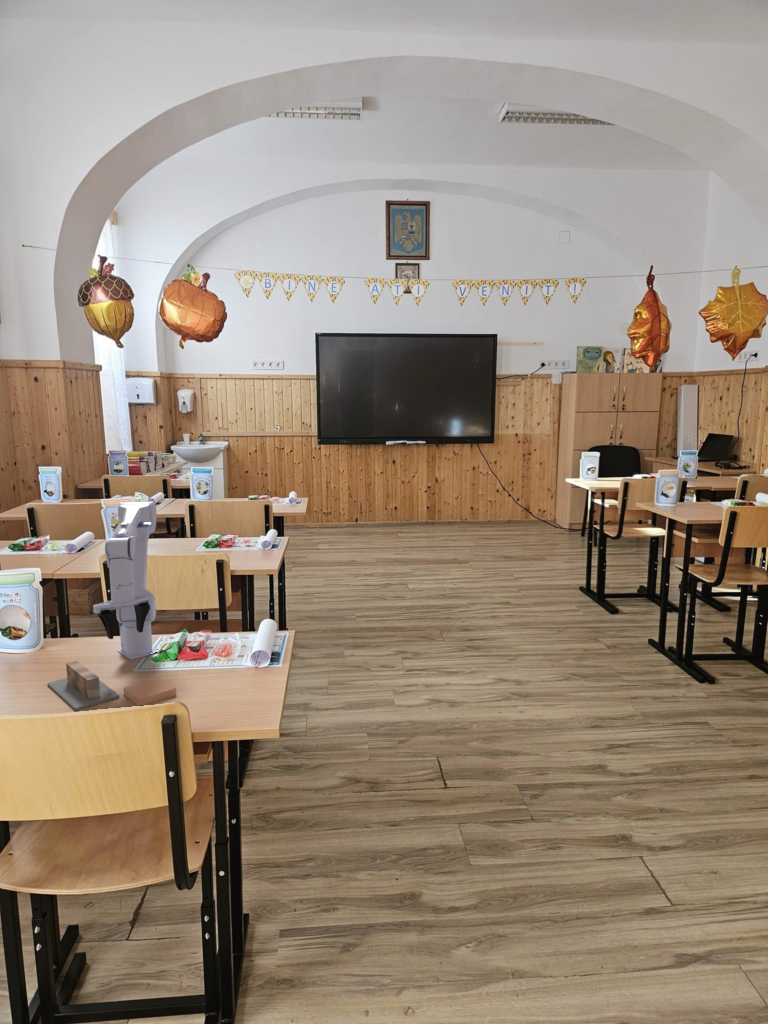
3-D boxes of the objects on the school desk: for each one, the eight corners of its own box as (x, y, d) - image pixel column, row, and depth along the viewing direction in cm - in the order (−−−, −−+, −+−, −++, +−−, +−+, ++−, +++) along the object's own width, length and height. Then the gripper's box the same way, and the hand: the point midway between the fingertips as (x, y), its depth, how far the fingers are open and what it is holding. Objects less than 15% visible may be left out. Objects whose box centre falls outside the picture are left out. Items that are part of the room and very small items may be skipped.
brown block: (67, 682, 162) (65, 663, 161) (78, 679, 164) (76, 660, 163) (89, 700, 151) (87, 680, 151) (100, 697, 153) (98, 677, 153)
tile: (123, 687, 156) (139, 699, 149) (159, 677, 162) (175, 688, 156) (124, 696, 156) (139, 708, 150) (159, 685, 162) (176, 696, 156)
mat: (47, 685, 162) (47, 682, 162) (88, 674, 169) (88, 671, 169) (75, 710, 148) (75, 708, 148) (119, 697, 154) (119, 695, 154)
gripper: (99, 591, 158) (102, 644, 160) (156, 581, 168) (159, 631, 170) (88, 586, 163) (92, 638, 165) (144, 577, 173) (147, 626, 175)
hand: (125, 634), depth 168 cm, fingers open, 7 cm apart
